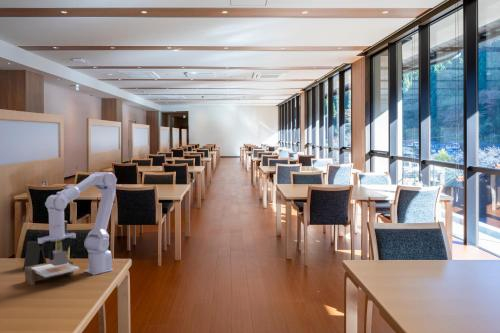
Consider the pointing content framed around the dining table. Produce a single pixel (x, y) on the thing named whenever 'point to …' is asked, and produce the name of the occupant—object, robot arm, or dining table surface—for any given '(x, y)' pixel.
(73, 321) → the dining table surface
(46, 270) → the trapdoor
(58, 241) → the sauce bottle
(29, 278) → the trapdoor frame
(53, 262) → the stone
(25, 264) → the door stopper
